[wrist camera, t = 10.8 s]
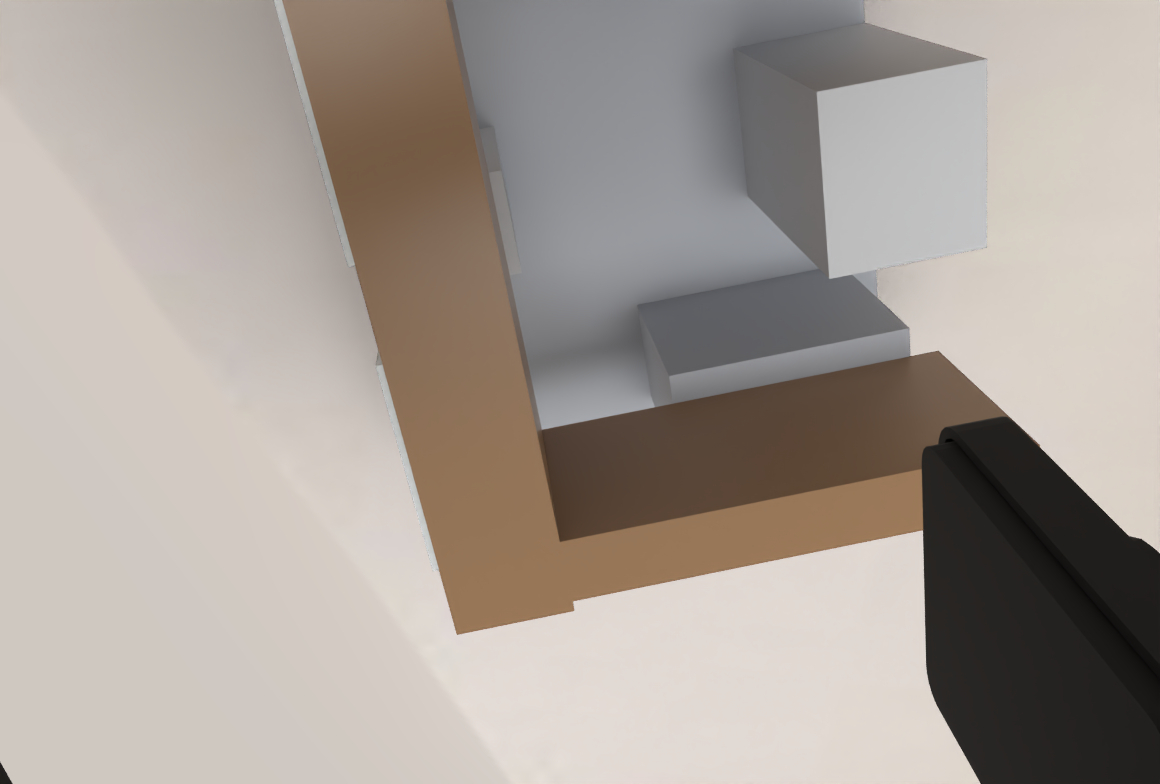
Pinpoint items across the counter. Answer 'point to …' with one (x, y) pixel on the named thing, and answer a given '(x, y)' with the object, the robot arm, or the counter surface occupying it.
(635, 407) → the grey post plate
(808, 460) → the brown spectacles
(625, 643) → the counter surface
